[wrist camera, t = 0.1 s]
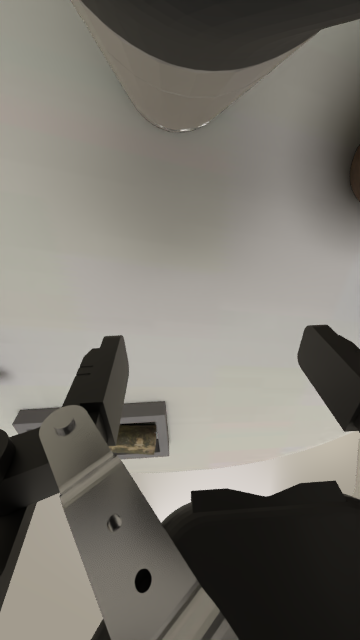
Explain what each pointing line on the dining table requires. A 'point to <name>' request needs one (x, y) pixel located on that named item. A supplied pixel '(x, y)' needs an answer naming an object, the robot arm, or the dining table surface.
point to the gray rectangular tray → (130, 414)
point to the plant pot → (355, 174)
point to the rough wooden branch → (135, 439)
